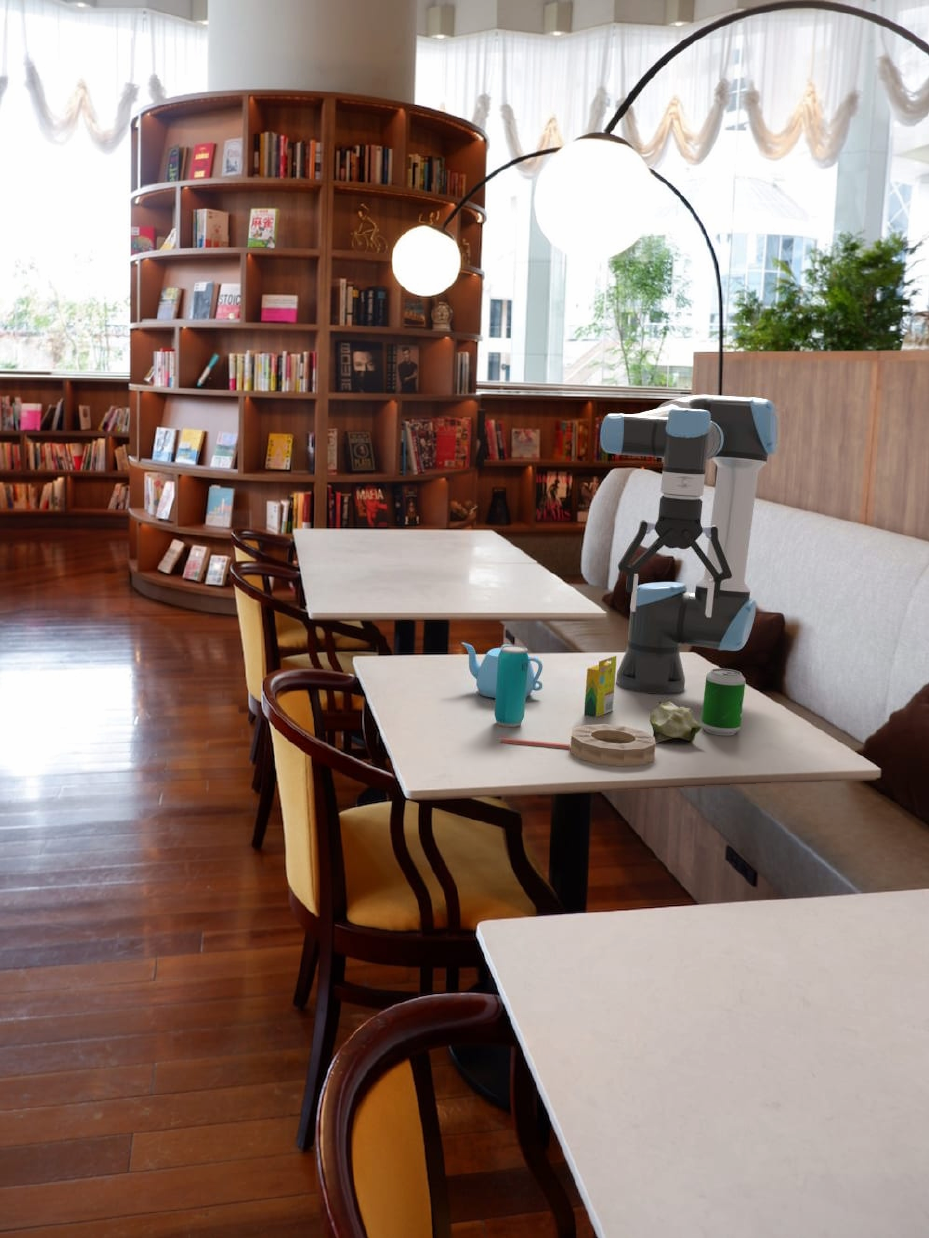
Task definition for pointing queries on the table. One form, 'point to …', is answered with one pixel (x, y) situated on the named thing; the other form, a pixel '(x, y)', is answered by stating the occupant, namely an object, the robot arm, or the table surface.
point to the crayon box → (600, 688)
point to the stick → (535, 743)
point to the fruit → (673, 723)
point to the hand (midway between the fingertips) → (670, 613)
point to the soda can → (723, 701)
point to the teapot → (488, 672)
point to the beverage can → (511, 685)
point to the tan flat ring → (612, 745)
